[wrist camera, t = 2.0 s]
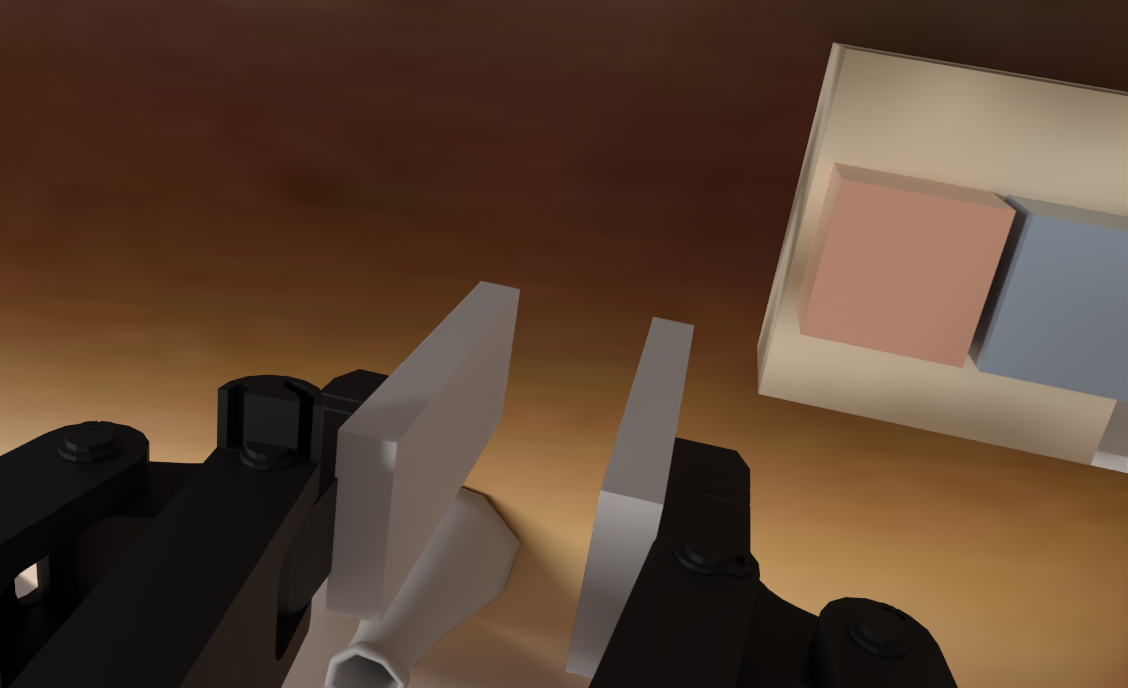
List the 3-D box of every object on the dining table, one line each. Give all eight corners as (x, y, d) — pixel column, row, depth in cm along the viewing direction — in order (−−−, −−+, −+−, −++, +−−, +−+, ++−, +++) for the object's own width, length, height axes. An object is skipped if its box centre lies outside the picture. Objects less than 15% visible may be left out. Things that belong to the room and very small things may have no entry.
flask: (547, 538, 43) (493, 683, 34) (465, 633, 46) (394, 792, 37) (421, 446, 43) (331, 569, 33) (345, 548, 45) (243, 687, 36)
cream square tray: (833, 42, 34) (846, 48, 29) (1166, 98, 32) (1235, 114, 28) (757, 346, 38) (758, 393, 33) (1047, 407, 37) (1090, 465, 32)
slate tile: (1007, 194, 30) (1034, 214, 27) (1171, 224, 29) (1216, 247, 26) (958, 338, 31) (978, 371, 29) (1112, 370, 31) (1148, 406, 28)
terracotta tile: (833, 162, 30) (842, 178, 27) (991, 191, 30) (1016, 211, 27) (796, 305, 32) (800, 334, 29) (943, 335, 31) (962, 367, 29)
